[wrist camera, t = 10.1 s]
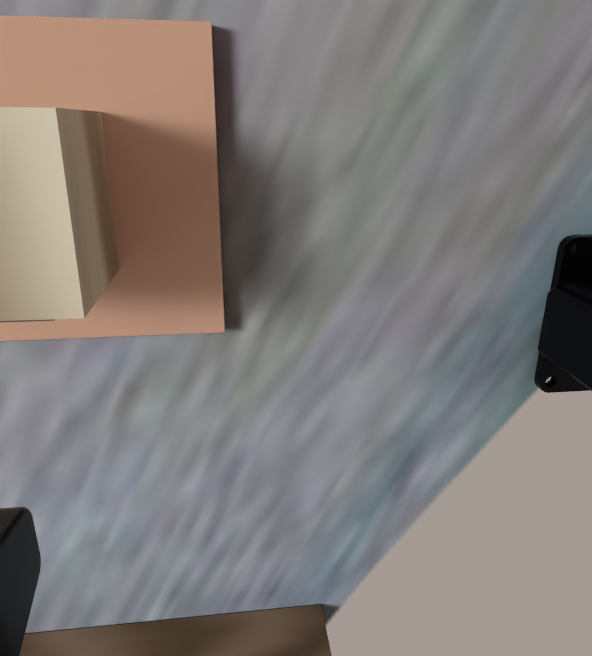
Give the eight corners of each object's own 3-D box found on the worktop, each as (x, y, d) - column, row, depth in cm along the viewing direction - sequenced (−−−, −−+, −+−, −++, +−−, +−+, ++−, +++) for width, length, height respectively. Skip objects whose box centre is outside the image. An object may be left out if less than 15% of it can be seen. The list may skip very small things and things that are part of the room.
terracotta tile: (211, 25, 17) (211, 21, 16) (224, 326, 20) (224, 332, 20) (-216, 12, 15) (-232, 9, 15) (-122, 339, 19) (-132, 345, 18)
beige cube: (101, 111, 17) (55, 107, 12) (120, 277, 19) (86, 329, 14) (-72, 109, 16) (-192, 104, 11) (-35, 281, 18) (-125, 336, 13)
